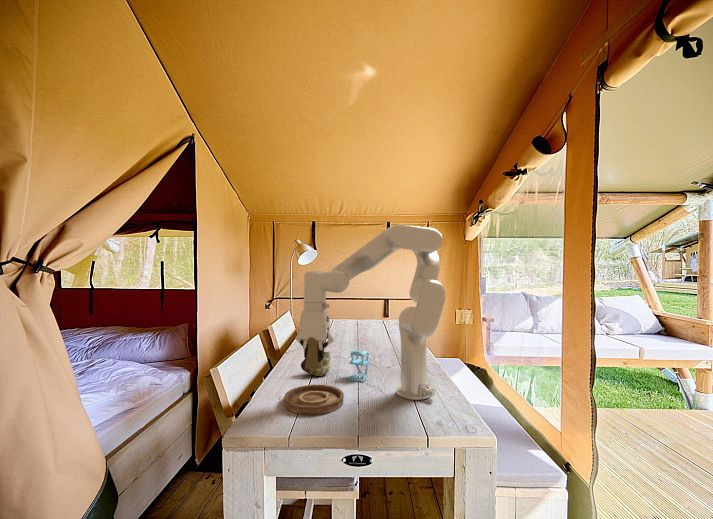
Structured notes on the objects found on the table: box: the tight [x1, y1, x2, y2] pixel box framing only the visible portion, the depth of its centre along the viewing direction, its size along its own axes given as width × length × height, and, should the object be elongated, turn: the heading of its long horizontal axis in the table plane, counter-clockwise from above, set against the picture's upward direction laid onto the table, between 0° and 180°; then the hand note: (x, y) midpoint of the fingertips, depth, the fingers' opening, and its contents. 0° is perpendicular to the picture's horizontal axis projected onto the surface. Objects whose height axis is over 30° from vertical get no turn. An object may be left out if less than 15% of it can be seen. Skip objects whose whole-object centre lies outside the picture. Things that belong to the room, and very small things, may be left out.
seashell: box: [300, 351, 332, 377], centre depth 143 cm, size 11×11×10 cm
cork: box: [305, 337, 323, 369], centre depth 114 cm, size 6×6×11 cm
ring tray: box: [283, 384, 344, 416], centre depth 114 cm, size 20×20×2 cm
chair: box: [346, 349, 371, 383], centre depth 139 cm, size 8×8×12 cm
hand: (314, 359), depth 114 cm, fingers closed on cork, 4 cm apart
